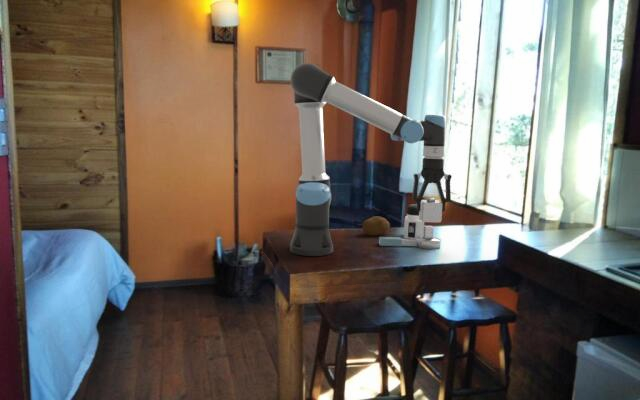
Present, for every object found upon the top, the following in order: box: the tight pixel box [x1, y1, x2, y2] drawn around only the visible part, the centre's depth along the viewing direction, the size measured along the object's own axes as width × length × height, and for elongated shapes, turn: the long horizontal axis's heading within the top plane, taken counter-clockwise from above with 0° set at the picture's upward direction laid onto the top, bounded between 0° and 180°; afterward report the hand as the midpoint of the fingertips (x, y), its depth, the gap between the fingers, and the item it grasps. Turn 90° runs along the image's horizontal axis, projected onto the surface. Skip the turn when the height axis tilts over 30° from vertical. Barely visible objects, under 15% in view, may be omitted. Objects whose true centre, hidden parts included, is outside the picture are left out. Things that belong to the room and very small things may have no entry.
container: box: [403, 204, 426, 239], centre depth 206 cm, size 8×8×13 cm
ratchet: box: [378, 225, 441, 250], centre depth 193 cm, size 22×9×8 cm, turn 89°
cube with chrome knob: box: [421, 197, 442, 223], centre depth 191 cm, size 6×6×8 cm
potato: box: [362, 215, 391, 236], centre depth 208 cm, size 8×12×8 cm, turn 122°
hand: (430, 219), depth 191 cm, fingers closed on cube with chrome knob, 6 cm apart
